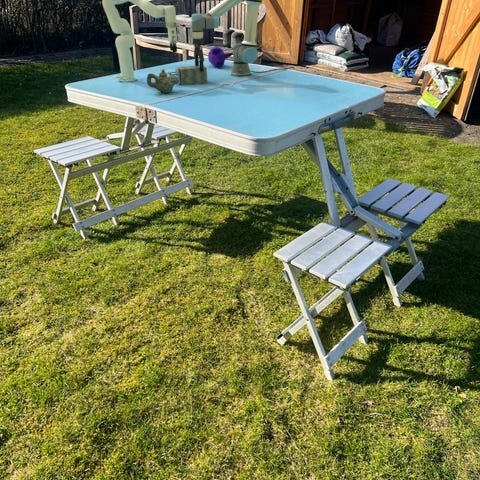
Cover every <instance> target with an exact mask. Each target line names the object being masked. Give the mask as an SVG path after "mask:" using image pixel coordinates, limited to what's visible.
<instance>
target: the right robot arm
mask: <svg viewBox="0 0 480 480" xmlns="http://www.w3.org/2000/svg"><path fill="white" fill-rule="evenodd" d="M244 2H245V3H246V4H247V5H246V14H245V22H244V23H245V24H244V34H243V41H241V42H238V43H233V45H232V53H233V55H232V60H233V63H232V68H231V72H230V73H231V76H233V77H246V76H250V75H251V73H254V74H255V73H256V74H260V73H261V74H262V73H268V72H271V71H277V70H290V69H294V70H296V68H295V67H294V66H290V67H283V68H274V69H269V70H263V71H254V70H251V69H250V65H249V64H254V63H255V62H256V61H257V59H258V57H259V52H258V49H257V46H258V44H257V43H256V38H257V37H256V36H257V28H258V20H259V19H258V18H259V11H260V6H261V5H262V4H263V0H222V1H220V2H219V3H218V4H216V5H215V6H214V7H213V8H211V9H209V11H207V12H206V13H204V14H202V13H192V14H191V21H190V22H191V34H192V35H191V37H192V45H193V58H194V66H199V65H200V72H203V71H204V66H205V65H204V62H205V57H204V56H205V55H204V50H203V49H204V48H203V46H202V45H204V30H205V29H206V30H207V29H209V30H210V29H218V28H219V27H220V19H219V18H221V17H222V16H223V15H225V14H226V13H228V12H229V11H230V10H231V9H233V8H235V7H236V6H237V5H239V4H240V3H244Z"/></svg>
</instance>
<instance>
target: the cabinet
mask: <svg viewBox="0 0 480 480" xmlns="http://www.w3.org/2000/svg"><path fill="white" fill-rule="evenodd" d="M207 68H208V67H207V66H205V65H204V71H203V72H200V64H199V66H195V65H186V66H177V67H176V69H178V70H180V73H181V81H180V84H179V85H181V86H190V85H201V84H208V69H207Z"/></svg>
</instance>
